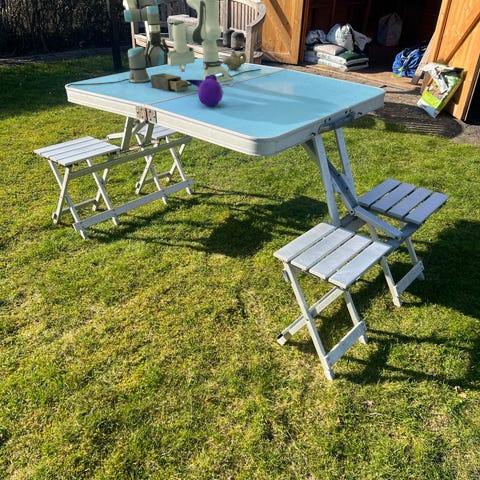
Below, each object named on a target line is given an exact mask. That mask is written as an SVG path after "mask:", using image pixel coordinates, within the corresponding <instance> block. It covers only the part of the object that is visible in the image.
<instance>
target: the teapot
mask: <svg viewBox="0 0 480 480" xmlns="http://www.w3.org/2000/svg"><path fill="white" fill-rule="evenodd" d="M241 58H242V59H241ZM222 61H223V62H224V63H223V65H225V66H227V69H228V71H229V70H230V71H238V70H239V69H240V68H241V67H242V65H244V64H245V63H246V61H247V56H246V53H245V52H243V51H242V52H239V54H237V53H236V52H235V50H232V51H231V54H230V56H226V57H224V58H223V60H222Z"/></svg>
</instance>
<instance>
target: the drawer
mask: <svg viewBox="0 0 480 480" xmlns="http://www.w3.org/2000/svg"><path fill="white" fill-rule="evenodd" d="M186 80H187V79H182V78H181V79H174V80H169V87H170V89H172V90H174V92H182V91H186V90H189V87H191V86H193V84H191V83H189V82H188V81H186Z"/></svg>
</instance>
